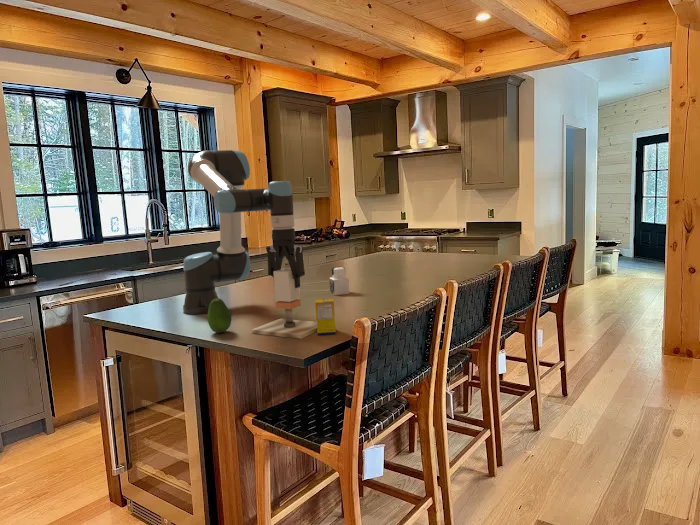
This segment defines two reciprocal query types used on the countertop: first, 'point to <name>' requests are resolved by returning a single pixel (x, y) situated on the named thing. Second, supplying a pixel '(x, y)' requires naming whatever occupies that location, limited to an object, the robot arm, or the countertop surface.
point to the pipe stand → (287, 327)
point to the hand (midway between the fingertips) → (287, 296)
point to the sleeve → (284, 285)
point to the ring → (288, 304)
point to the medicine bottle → (339, 281)
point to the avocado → (218, 316)
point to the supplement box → (325, 316)
